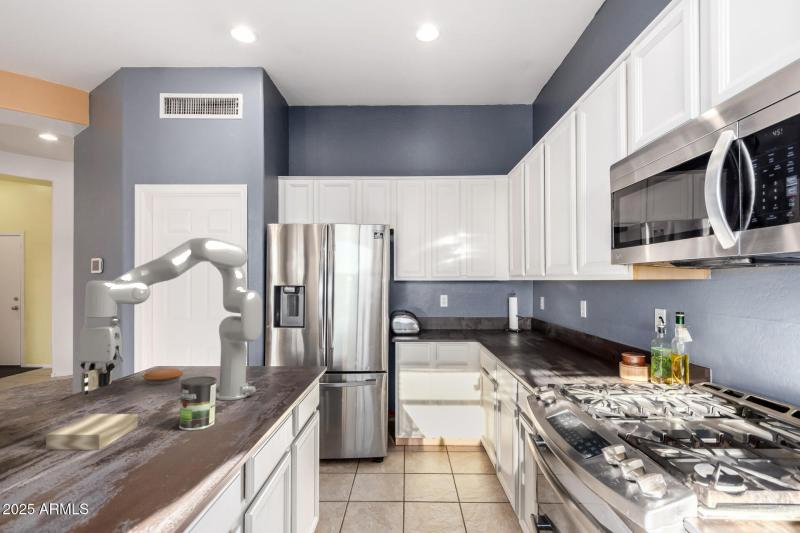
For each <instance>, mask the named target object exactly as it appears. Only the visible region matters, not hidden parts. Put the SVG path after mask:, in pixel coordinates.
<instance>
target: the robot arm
mask: <svg viewBox="0 0 800 533" xmlns="http://www.w3.org/2000/svg"><path fill="white" fill-rule="evenodd" d="M248 259H249V257H248V252H247V250H246V249H245V248H244V247H243V246H241V245H239V244H235V243H231V242H228V241H223V240H222V239H221V240H220V239H217V238H213V237H195V238H190V239H188V240H186V241H185V242H183V243H181V244H179V245H177V246H175V247H174V248H173V249H172V250H169V251H168V252H166V253H165V254H163V255H161V256H159V257H157V258H155V259H152V260H150V261H148V262H146V263H144V264H141V265H139V266H137V267H134V268H132V269H130V270H128V271H127V272H124V273H123V274H122V275H119V276H118V277H116V278H114V279H113V280H90V281H88V282H87V283H86V285H85V304H84V325H83V327H82V328H81V331H80V334H79V339H78V344H77V357H76V358H75V359H74V364H76V365H77V366H79V367H80V368H82V369H83V372H85V371H89V370H93V369H96V368H97V363H101V367H102V373H100V380H99V387H100V388H104V387H106V386H109V385H110V384H109V382H110V371H112V370H114V369H115V368H116V367H117V366H119V365H121V364H123V363H124V361H123V358H122V357H123V340H122V339H123V338H122V332H121V328H120V326H117V325H118V324H120V323H121V319H119V318H118V305H119V304H123V305H133V306H134V305H140V304H143V303H144V302H146V301H147V300H148V299H149V298H150V295H151V289H150V286H152V285H154V284H158V283H161V282H162V283H163V282H168V281H170V280H174V279H177V278H178V277H180V276H181V275H183V274H184V273H186V272H187V271H189V270H190V269H192V268H193V267H195V266H197V265H198V264H200V263H202V262H204V263H205V262H206V263H207V262H209V263H210V264H211V265H212V266H213V267H215V269H217V271H218V272H219V274H220V275H221V278H222V303H223V309H224V310H225V311H226V312H229V313H234V314H240V315H230V316H227V317H225V318H223V319H222V320H221V321H220V323H219V327H218V336H219V341H220V362H219V364H220V367H219V388H218V389H219V390H218V391H216V398H215V400H219V401H236V400H241V399H245V398H247V397H248V396H250V393H256V391H257V389H256V387H255V386H254V385H253V386H252V385H251V386H249V382H246V380H247V379H246V376H247V355H248V350H247V349H248V348H247V344H246V343H253V342H256V341H257V340H259V338H260V336H261V335H262V331H263V301H262V297H261V295H260V294H259V292H258V291H256V290H253V289H247V280H246V279H247V278H246V277H247V276H246V273H245V270H244V269H243V266H244V265H246V264H247V261H248Z"/></svg>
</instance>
